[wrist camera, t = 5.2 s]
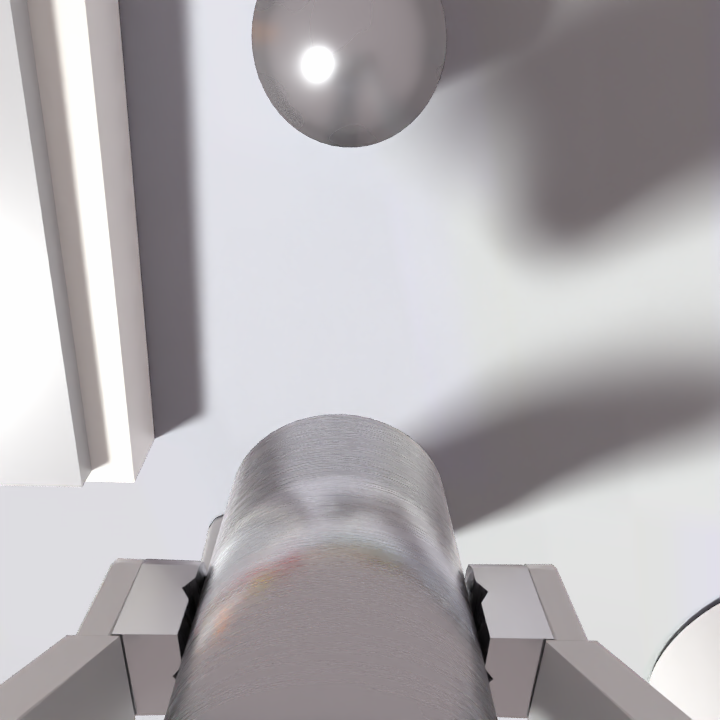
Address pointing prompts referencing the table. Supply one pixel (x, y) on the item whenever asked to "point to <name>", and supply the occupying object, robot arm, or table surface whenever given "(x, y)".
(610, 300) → the table surface
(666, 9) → the table surface
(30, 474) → the white rimmed tray
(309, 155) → the table surface
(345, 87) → the cylinder
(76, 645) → the robot arm
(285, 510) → the cylinder
